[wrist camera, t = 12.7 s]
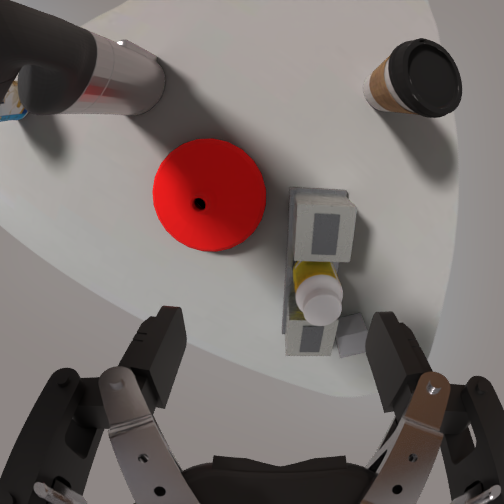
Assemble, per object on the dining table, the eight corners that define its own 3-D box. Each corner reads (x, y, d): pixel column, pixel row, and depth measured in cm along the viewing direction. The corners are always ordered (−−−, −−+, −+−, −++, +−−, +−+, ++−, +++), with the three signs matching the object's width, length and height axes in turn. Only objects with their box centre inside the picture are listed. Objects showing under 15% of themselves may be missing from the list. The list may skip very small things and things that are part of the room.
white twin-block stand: (289, 186, 37) (293, 200, 30) (345, 190, 37) (361, 203, 30) (281, 326, 47) (282, 358, 40) (326, 327, 47) (333, 358, 39)
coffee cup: (395, 61, 28) (449, 35, 14) (414, 114, 31) (477, 112, 17) (345, 70, 30) (384, 38, 16) (366, 125, 33) (417, 123, 19)
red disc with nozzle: (242, 259, 43) (236, 282, 36) (149, 221, 41) (128, 237, 35) (285, 163, 36) (287, 169, 30) (180, 123, 35) (161, 121, 28)
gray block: (333, 318, 46) (337, 337, 41) (360, 312, 45) (367, 330, 40) (335, 339, 48) (340, 357, 43) (361, 333, 47) (367, 351, 42)
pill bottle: (283, 267, 42) (285, 310, 32) (315, 241, 40) (327, 278, 29) (309, 292, 43) (317, 338, 33) (340, 268, 41) (357, 310, 31)
